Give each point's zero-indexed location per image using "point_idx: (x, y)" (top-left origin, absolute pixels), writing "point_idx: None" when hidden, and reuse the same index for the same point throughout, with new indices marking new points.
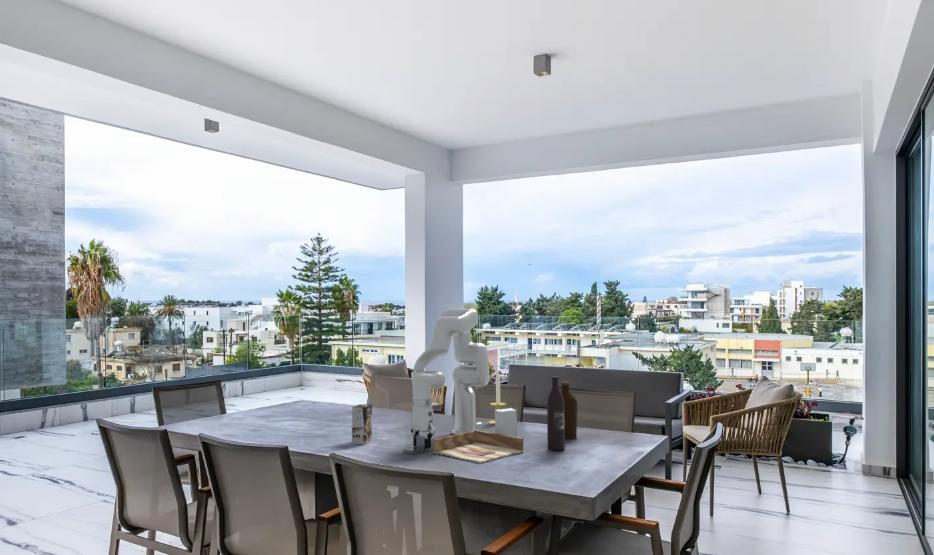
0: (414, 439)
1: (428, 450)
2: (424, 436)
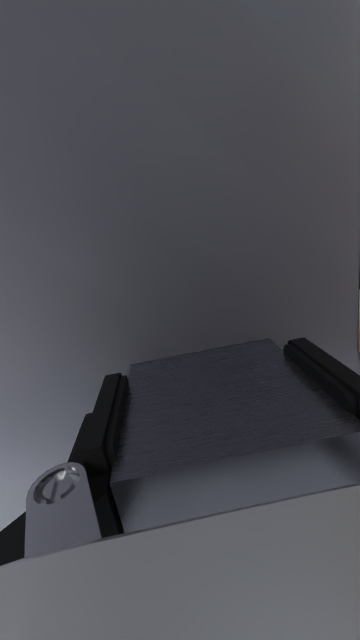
0: None
1: (272, 346)
2: (308, 478)
